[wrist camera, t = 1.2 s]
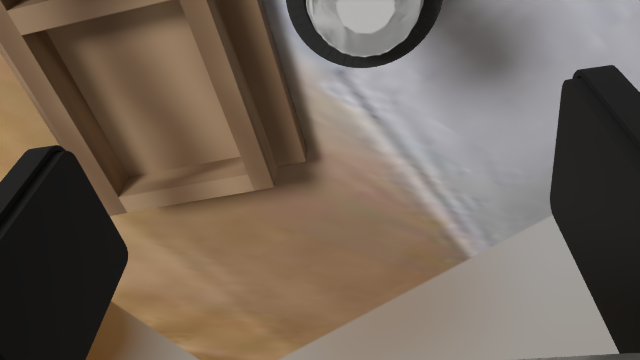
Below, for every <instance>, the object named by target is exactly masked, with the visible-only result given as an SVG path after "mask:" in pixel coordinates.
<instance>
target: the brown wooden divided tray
mask: <svg viewBox="0 0 640 360" xmlns="http://www.w3.org/2000/svg"><path fill="white" fill-rule="evenodd" d="M0 52H1V54H2V55H3V57H4V59H5V60H6V62H7V63H8V65H9V66H10V68H11V70H12V71H13V73H14V74H15V76H16V77H17V79H18V81H19V82H20V84H21V85H22V87H23V88H24V90H25V92H26V93H27V95H28V96H29V98H30V99H31V101H32V103H33V104H34V106H35V107H36V109H37V110H38V112H39V114H40V115H41V117H42V118H43V120H44V121H45V123H46V125H47V126H48V128H49V129H50V131H51V132H52V134H53V136H54V137H55V139H56V140H57V142H58V143H59V145H60V146H61V147H63V148H64V149H65V150H66V151H70V152H72V153H73V154H74V155H75V156H76V158H77V160H78V161H79V163H80V165H81V167H82V169H83V170H84V172H85V174H86V176H87V177H88V179H89V181H90V183H91V184H92V186H93V188H94V190H95V192H96V193H97V195H98V197H99V199H100V200H101V202H102V204H103V206H104V207H105V209H106V211H107V213H108V214H109V216H111V215H117V214H123V213H129V212H134V211H140V210H146V209H152V208H157V207H163V206H169V205H175V204H181V203H186V202H192V201H198V200H204V199H210V198H215V197H221V196H227V195H233V194H239V193H244V192H250V191H256V190H262V189H267V188H273V187H274V185H275V178H276V171H277V167H279V166H285V165H290V164H296V163H302V162H306V154H307V150H306V146H305V143H304V140H303V136H302V133H301V129H300V126H299V123H298V119H297V116H296V113H295V109H294V106H293V103H292V99H291V96H290V93H289V89H288V86H287V83H286V79H285V76H284V73H283V69H282V66H281V63H280V59H279V56H278V53H277V49H276V46H275V42H274V39H273V36H272V32H271V29H270V26H269V22H268V19H267V16H266V12H265V9H264V6H263V2H262V0H0Z"/></svg>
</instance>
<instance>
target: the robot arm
mask: <svg viewBox="0 0 640 360" xmlns="http://www.w3.org/2000/svg"><path fill="white" fill-rule="evenodd" d="M550 205H551V210H552V214H553V216H554V219H555V221H556V223H557V225H558V227H559V229H560V231H561V233H562V235H563V237H564V239H565V241H566V243H567V245H568V247H569V249H570V251H571V254H572V256H573V258H574V260H575V262H576V264H577V266H578V268H579V270H580V272H581V274H582V277H583V278H584V281H585V283H586V285H587V287H588V289H589V291H590V293H591V295H592V297H593V299H594V301H595V303H596V305H597V308H598V310H599V312H600V314H601V316H602V318H603V320H604V322H605V324H606V326H607V328H608V330H609V332H610V335H611V337H612V339H613V341H614V343H615V345H616V347H617V349H618V351H619V353H620V354H607V355H590V356H572V357H554V358H537V359H520V360H640V92H639V91H638V90H637V89H636V88H635V87H634V86H633V85H632V84H631V83H630V82H629V81H628V79H627V78H626V77H625V76H624V75H623V74H622V73H621V72H620V71H619V70H618V69H617V68H616V67H615V66H613V65H609V66H602V67H595V68H588V69H581V70H577V71H576V72H575V73H574V76H573V79H569V80H565V81H564V83H563V86H562V92H561V101H560V110H559V119H558V129H557V138H556V147H555V156H554V165H553V174H552V183H551V192H550ZM127 261H128V251H127V247H126V245H125V243H124V241H123V239H122V238H121V236H120V234H119V232H118V230H117V229H116V227H115V225H114V223H113V222H112V220H111V218H110V216H109V215H108V213H107V211H106V209H105V207H104V206H103V204H102V202H101V200H100V199H99V197H98V195H97V193H96V192H95V190H94V188H93V186H92V184H91V183H90V181H89V179H88V177H87V176H86V174H85V172H84V170H83V169H82V167H81V165H80V163H79V161H78V160H77V158H76V156H75V155H74V154H73V153H72V152H70V151H66V150H65V149H64V148H63V147H61V146H58V145H55V146H48V147H41V148H34V149H29V150H27V151H26V152H25V153H24V154H23V155H22V157H21V158H20V159H19V160H18V161H17V163H16V164H15V165H14V166H13V168H12V169H11V170H10V171H9V172H8V174H7V175H6V176H5V177H4V178H3V180H2V181H1V182H0V360H85V359H86V357H87V355H88V353H89V350H90V348H91V345H92V343H93V341H94V339H95V336H96V333H97V332H98V329H99V327H100V325H101V322H102V320H103V318H104V315H105V313H106V311H107V308H108V306H109V304H110V301H111V299H112V297H113V294H114V292H115V290H116V287H117V285H118V283H119V281H120V278H121V276H122V274H123V271H124V269H125V267H126V264H127Z"/></svg>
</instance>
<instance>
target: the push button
mask: <svg viewBox="0 0 640 360" xmlns="http://www.w3.org/2000/svg"><path fill="white" fill-rule="evenodd" d="M442 1H443V0H286V3H287V9H288V13H289V16H290V19H291V21H292V24H293V26H294V28H295V30H296V31H297V33H298V35H299V36H300V37H301V39H302V40H303V41H304V42H305V44H306V45H307V46H308V47H309V48H310V49H312V50H313V51H314V52H315V53H317V54H318V55H319V56H321V57H323V58H324V59H326V60H328V61H330V62H333V63H336V64H338V65H342V66H346V67H353V68H370V67H377V66H381V65H385V64H387V63H390V62H393V61H395V60H397V59H399V58H401V57H403V56H404V55H406V54H407V53H409V52H410V51H412V50H413V49H414V48H415V47H416V46H417V45H418V44H419V43H420V42H421V41H422V40H423V39H424V38H425V37H426V35H427V34H428V33H429V31H430V30H431V28H432V27H433V25H434V23H435V21H436V19H437V17H438V14H439V12H440V9H441V5H442Z"/></svg>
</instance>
